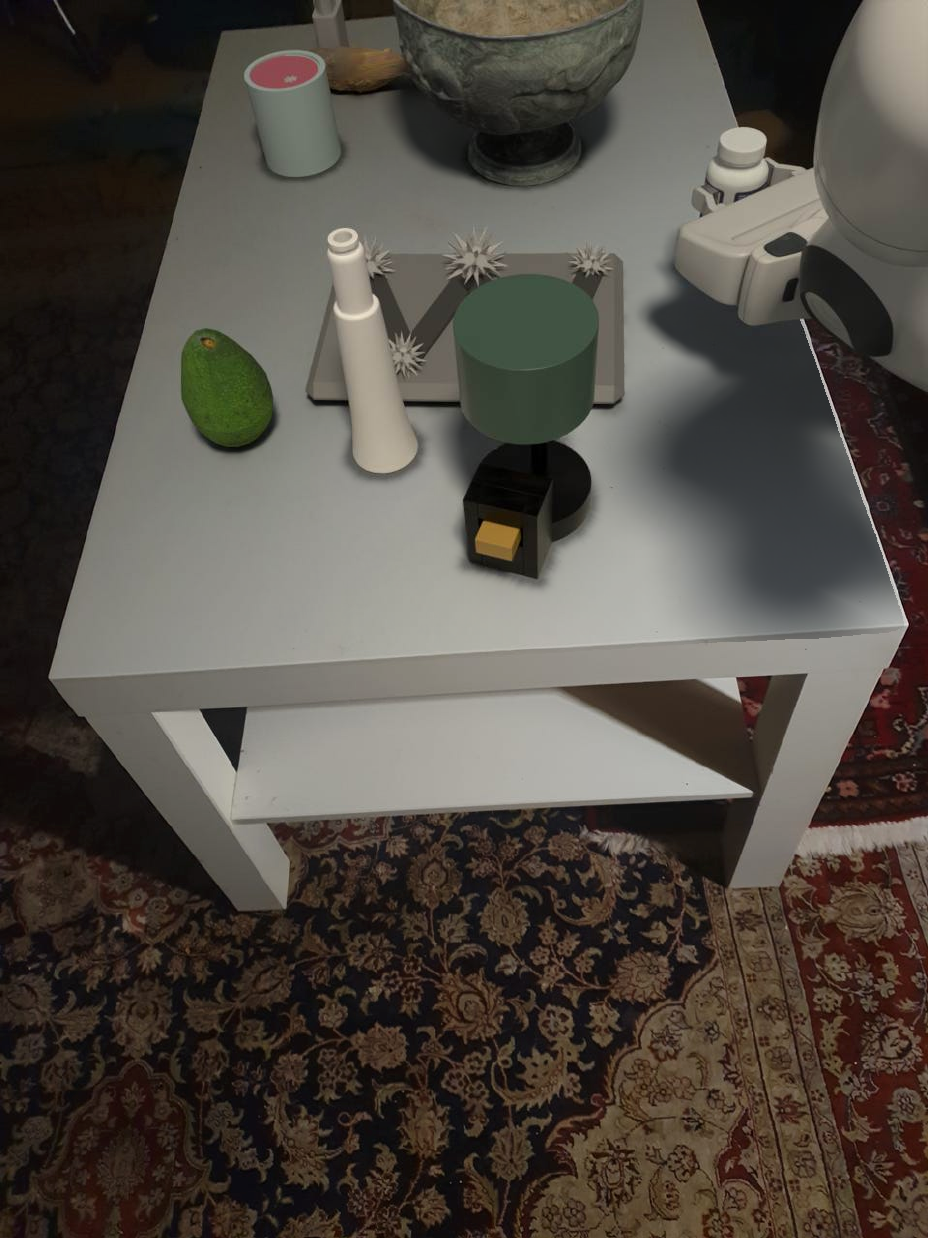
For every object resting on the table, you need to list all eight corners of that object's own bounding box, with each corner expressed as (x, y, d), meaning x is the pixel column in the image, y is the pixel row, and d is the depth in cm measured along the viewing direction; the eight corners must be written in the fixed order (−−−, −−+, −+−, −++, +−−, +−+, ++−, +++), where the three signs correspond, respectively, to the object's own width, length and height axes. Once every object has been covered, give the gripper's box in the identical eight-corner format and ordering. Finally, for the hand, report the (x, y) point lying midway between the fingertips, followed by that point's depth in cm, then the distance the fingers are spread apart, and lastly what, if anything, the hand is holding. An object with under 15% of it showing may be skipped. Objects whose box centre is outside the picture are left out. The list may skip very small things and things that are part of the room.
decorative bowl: (682, 172, 104) (700, -29, 88) (480, 251, 100) (460, 55, 83) (566, 81, 119) (563, -107, 102) (386, 146, 114) (352, -39, 98)
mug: (336, 174, 110) (320, 88, 101) (260, 178, 110) (237, 93, 102) (348, 113, 117) (333, 28, 109) (277, 117, 118) (257, 32, 110)
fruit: (198, 471, 85) (152, 370, 75) (203, 410, 89) (160, 308, 79) (283, 460, 85) (248, 359, 75) (284, 400, 89) (251, 297, 79)
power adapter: (351, 55, 125) (335, -46, 115) (344, 76, 122) (327, -26, 112) (329, 56, 126) (311, -45, 116) (322, 76, 123) (302, -25, 113)
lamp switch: (512, 561, 71) (511, 548, 70) (475, 552, 72) (474, 539, 71) (521, 538, 73) (521, 524, 71) (485, 529, 73) (484, 516, 72)
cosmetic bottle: (353, 478, 83) (300, 267, 65) (351, 430, 86) (300, 216, 68) (420, 470, 83) (386, 256, 65) (415, 422, 86) (381, 206, 68)
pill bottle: (758, 226, 88) (780, 125, 80) (749, 260, 85) (770, 159, 77) (701, 219, 89) (717, 118, 81) (690, 252, 87) (705, 152, 79)
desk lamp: (561, 585, 75) (566, 403, 58) (446, 556, 77) (420, 374, 61) (603, 470, 81) (619, 277, 65) (496, 447, 84) (485, 255, 67)
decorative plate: (306, 409, 88) (289, 351, 82) (342, 268, 100) (329, 208, 94) (623, 413, 85) (629, 352, 79) (622, 266, 97) (627, 204, 91)
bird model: (296, 81, 122) (287, 41, 118) (453, 73, 121) (450, 32, 117) (290, 105, 119) (281, 65, 115) (451, 97, 117) (448, 55, 113)
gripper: (942, 177, 76) (825, 107, 83) (747, 268, 71) (640, 186, 78) (917, 245, 81) (808, 173, 88) (733, 334, 77) (634, 251, 84)
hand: (727, 180), depth 83 cm, fingers closed on pill bottle, 5 cm apart
